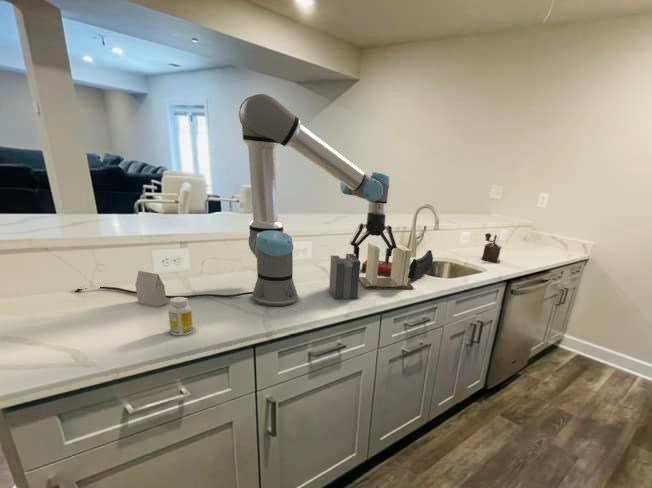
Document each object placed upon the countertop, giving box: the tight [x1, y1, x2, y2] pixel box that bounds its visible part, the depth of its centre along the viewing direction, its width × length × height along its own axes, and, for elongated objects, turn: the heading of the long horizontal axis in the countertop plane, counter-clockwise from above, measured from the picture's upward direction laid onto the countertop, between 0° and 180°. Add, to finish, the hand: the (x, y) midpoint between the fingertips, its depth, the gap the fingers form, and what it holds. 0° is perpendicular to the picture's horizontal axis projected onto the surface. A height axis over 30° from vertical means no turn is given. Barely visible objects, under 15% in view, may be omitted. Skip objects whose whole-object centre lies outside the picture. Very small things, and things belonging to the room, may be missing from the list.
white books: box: [389, 244, 412, 286], centre depth 172 cm, size 4×11×16 cm, turn 22°
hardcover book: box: [361, 259, 392, 277], centre depth 191 cm, size 12×21×4 cm, turn 85°
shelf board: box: [359, 276, 414, 290], centre depth 173 cm, size 22×13×1 cm, turn 112°
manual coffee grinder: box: [481, 232, 502, 264], centre depth 250 cm, size 16×11×18 cm
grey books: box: [328, 253, 361, 300], centre depth 151 cm, size 9×12×15 cm
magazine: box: [408, 249, 434, 280], centre depth 193 cm, size 17×3×30 cm
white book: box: [364, 242, 381, 286], centre depth 167 cm, size 2×11×16 cm, turn 22°
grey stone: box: [134, 270, 167, 307], centre depth 119 cm, size 4×7×10 cm, turn 79°
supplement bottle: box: [167, 297, 194, 336], centre depth 105 cm, size 5×5×10 cm
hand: (371, 262), depth 166 cm, fingers open, 13 cm apart
